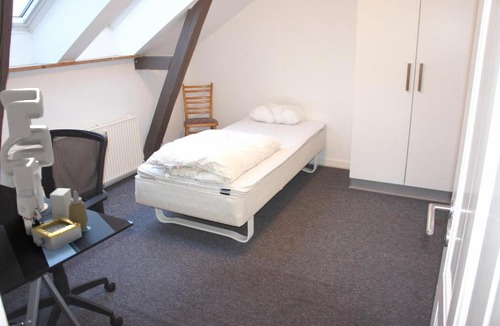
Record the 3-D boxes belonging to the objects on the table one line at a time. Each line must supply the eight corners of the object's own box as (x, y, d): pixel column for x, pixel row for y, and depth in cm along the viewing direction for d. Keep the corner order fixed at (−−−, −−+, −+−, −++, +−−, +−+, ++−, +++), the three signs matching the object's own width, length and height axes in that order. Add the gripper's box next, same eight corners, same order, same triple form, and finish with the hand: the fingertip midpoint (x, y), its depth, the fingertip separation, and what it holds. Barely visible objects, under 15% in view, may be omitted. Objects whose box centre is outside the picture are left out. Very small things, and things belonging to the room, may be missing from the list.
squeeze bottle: (82, 232, 177) (77, 195, 171) (66, 230, 178) (61, 193, 173) (92, 224, 184) (88, 188, 179) (76, 222, 186) (72, 187, 180)
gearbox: (29, 244, 166) (26, 230, 164) (63, 229, 179) (61, 216, 177) (48, 252, 160) (45, 238, 158) (81, 236, 173) (80, 223, 171)
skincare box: (61, 217, 191) (57, 187, 186) (75, 218, 190) (71, 188, 186) (52, 225, 183) (48, 194, 178) (67, 225, 182) (62, 194, 178)
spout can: (23, 232, 175) (20, 216, 173) (39, 226, 181) (37, 210, 179) (31, 236, 172) (28, 219, 170) (47, 229, 179) (44, 213, 176)
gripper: (6, 189, 171) (13, 227, 177) (29, 198, 163) (36, 237, 168) (23, 184, 177) (29, 220, 183) (46, 192, 169) (52, 230, 175)
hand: (32, 228), depth 176 cm, fingers closed on spout can, 5 cm apart
